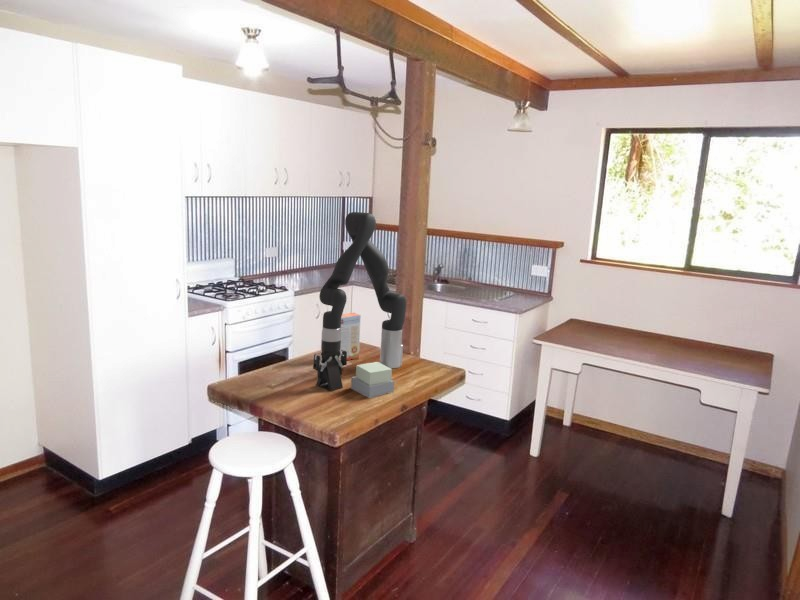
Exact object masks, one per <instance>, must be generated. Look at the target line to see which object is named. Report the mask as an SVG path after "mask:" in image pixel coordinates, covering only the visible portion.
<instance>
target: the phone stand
mask: <svg viewBox="0 0 800 600" xmlns="http://www.w3.org/2000/svg"><path fill="white" fill-rule="evenodd" d="M326 361H327V360H326ZM322 363H323V364H324V363H325V362H324V361H323V360H322ZM315 385H316V386H317V387H319V388H322V389H324V390H327V391H329V392H334V391H337V390H340V389H342V388H343V381H342V375H341V376H340V371H339V366H338V363H337V361H336V360H333V359H331V361H329V362H328V361H327V366H326V367H325V368H324V370H323V380H319V379H318V378H317V380H316V384H315Z"/></svg>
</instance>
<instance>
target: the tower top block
mask: <svg viewBox="0 0 800 600" xmlns="http://www.w3.org/2000/svg"><path fill="white" fill-rule="evenodd" d="M392 371H393V368H389V367H387V366H385V365H383V364H381V363H380V361H374V362H368V363H361V364H356V368H355V376H356V378H358V379H360V380H361V381H363V382H365V383H367V384H368V385H374V384H380V383H385V382H391V380H392V377H393V375H392Z"/></svg>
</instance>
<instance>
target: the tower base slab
mask: <svg viewBox="0 0 800 600" xmlns="http://www.w3.org/2000/svg"><path fill="white" fill-rule="evenodd" d="M350 389H351V390H353V391H355V392H356V393H359V394H360V395H362V396H364V397H367V398H368V399H371V398H376V397H380V396H383V394H384V395H387V394H386V393H388V394H392V393H394V391H395V381H394V380H392V379H391V382H385V383H380V384H374V385H368V384H367V383H365V382H363V381H361V380H360V379H358V378H356V375H355V376H351V379H350ZM391 392H392V393H391Z"/></svg>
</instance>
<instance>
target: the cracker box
mask: <svg viewBox="0 0 800 600" xmlns="http://www.w3.org/2000/svg"><path fill="white" fill-rule="evenodd" d="M360 339H361V314H359V313H356V312H349V313H342V317H341V349H340V351H341V350H345V351H346V352H347V361H350V360H351V359H352V360H356V359H359V358H360ZM339 360H340V361H341V355H340V356H339Z"/></svg>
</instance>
